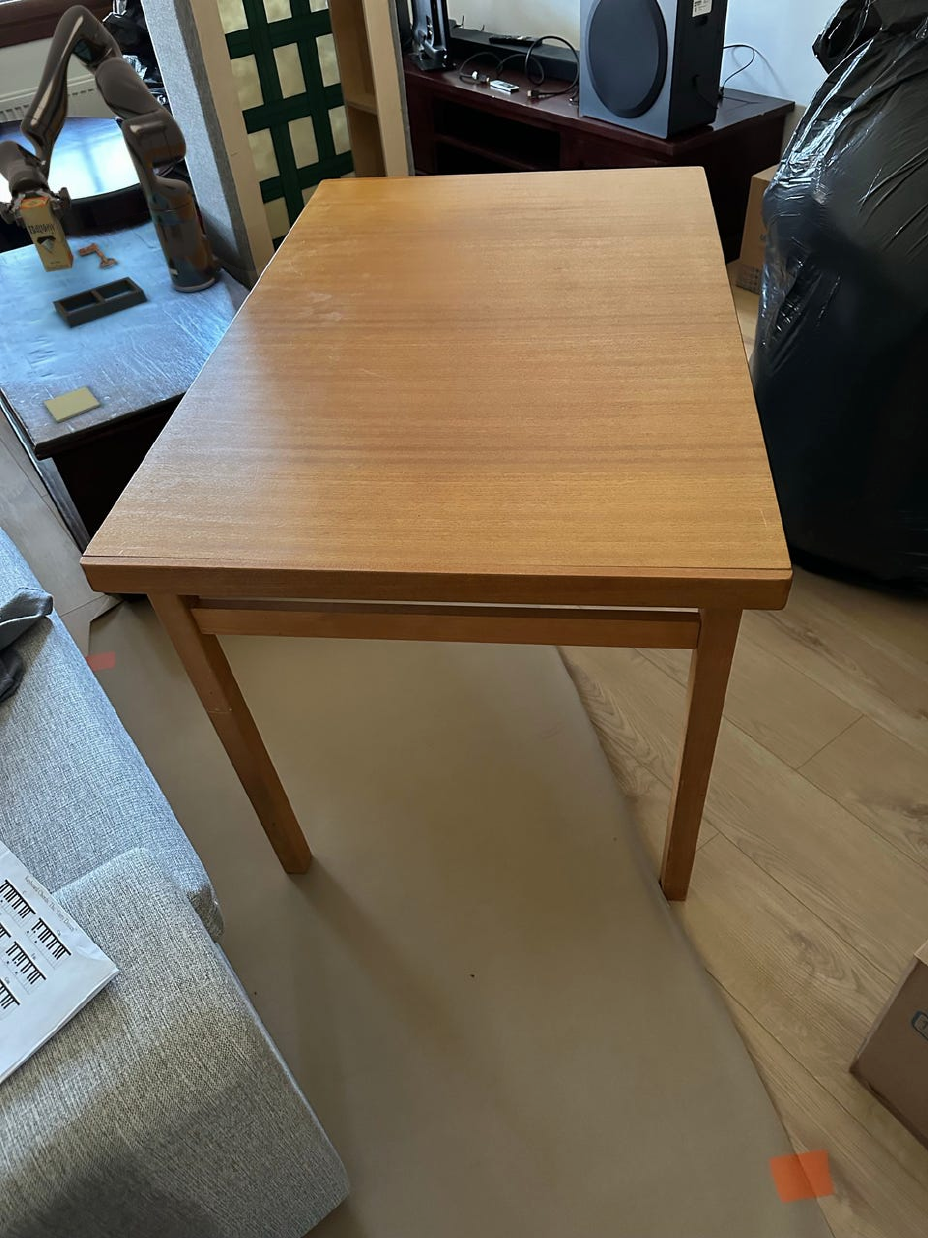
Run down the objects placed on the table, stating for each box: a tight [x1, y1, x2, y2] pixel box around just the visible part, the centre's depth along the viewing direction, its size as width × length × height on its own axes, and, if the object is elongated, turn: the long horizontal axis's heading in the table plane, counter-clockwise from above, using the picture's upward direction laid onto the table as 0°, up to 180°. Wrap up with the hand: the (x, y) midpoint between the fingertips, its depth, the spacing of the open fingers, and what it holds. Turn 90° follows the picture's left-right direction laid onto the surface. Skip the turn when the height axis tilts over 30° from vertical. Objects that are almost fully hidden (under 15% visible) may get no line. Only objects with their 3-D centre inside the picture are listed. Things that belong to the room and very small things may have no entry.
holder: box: [52, 276, 147, 329], centre depth 180 cm, size 17×9×2 cm, turn 126°
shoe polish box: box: [19, 196, 75, 273], centre depth 165 cm, size 5×5×12 cm
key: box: [77, 242, 116, 268], centre depth 199 cm, size 6×1×15 cm
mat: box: [43, 386, 101, 423], centre depth 154 cm, size 8×8×1 cm
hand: (39, 218), depth 160 cm, fingers closed on shoe polish box, 6 cm apart
